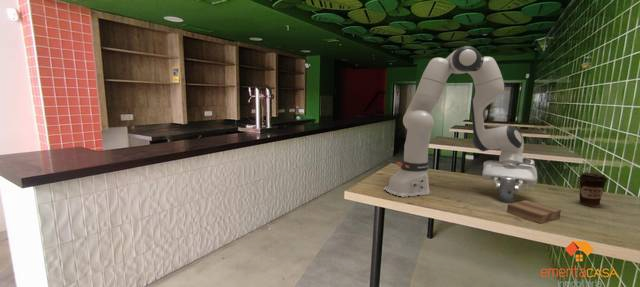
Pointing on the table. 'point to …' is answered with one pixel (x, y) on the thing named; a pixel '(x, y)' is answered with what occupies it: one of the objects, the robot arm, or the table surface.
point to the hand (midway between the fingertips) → (507, 189)
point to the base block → (533, 211)
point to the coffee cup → (591, 188)
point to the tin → (507, 189)
